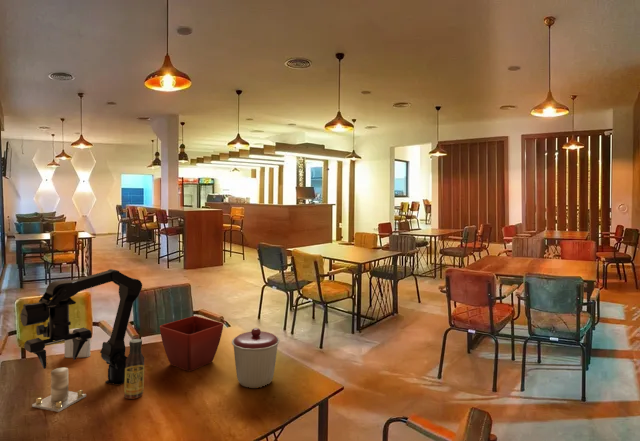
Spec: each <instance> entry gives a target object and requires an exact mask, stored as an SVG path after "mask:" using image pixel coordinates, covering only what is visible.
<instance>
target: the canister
mask: <svg viewBox="0 0 640 441" xmlns="http://www.w3.org/2000/svg"><path fill="white" fill-rule="evenodd" d="M280 341H281V340H280V337H278V336H277V335H275V334H274V333H271V332H267V331H261V329H260V328H258V327H255V328H253V329H251V331H247V332H243V333H240V334H239V335H237V336H235V337H233V339H232V340H231V345H232V346H233V352H234V353H233V354H234V363H235V371H236V373H235V374H236V377H237V378H236V379H237V381H238V383H239V384H240V385H241V386H242V387H245V388H248V387H249V389H258V388H257V387H260V388H263V387H262V386H264V387H265V385H266V386H268V385H269V384H270V383H272V381H273V378H274V373H275V367H276V360H277V354H278V345H279V343H280ZM267 384H268V385H267Z"/></svg>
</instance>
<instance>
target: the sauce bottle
mask: <svg viewBox="0 0 640 441" xmlns="http://www.w3.org/2000/svg"><path fill="white" fill-rule="evenodd" d="M142 344H143V340H142V339H141V338H133V339H131V340H129V354H128V355H127V356H126V357H127V359H126V367H125V382H124V386H123V387H124V388H123V390H124V391H123V392H124V398H125V399H127V400H134V399H135V400H136V399H138V398H141V397H142V396H143V394H144V386H145V385H144V383H145V356H144V355H143V353H142Z"/></svg>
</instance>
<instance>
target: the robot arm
mask: <svg viewBox="0 0 640 441" xmlns="http://www.w3.org/2000/svg"><path fill="white" fill-rule="evenodd" d="M111 282H112V283H114V284H115V285H117V286H118V295H119V296H118V297H119V303H118V306H117V311H116V315H115V318H114V322H113V327H112V330H111V333H110V334H111V335H110V338H109V339H108V340H107V342H106V341H103V342H102V346H101V350H100V351H99V353H100V354H101V355H100V357H101V359H102V360H103V361H105V363H106V364H107V365H108V368H107V380H105V384H110V385H111V384H112V385H117V386H119V385H122V384H125V367H126V359H127V357H128V356H126V343H125V337H126V333H127V331H128V330H127V329H128V326H129V321H130V317H131V314H132V310H133V306H134V303H135V301H136V300H137V299H138V297H139V296H140V294H141V291H142V289H143V283H142V281H141V280H140V279H137V278H133V277H130V276H128V275H126V274H123V273H122V272H120V271H119V270H116V269H112V268H110V269H108V270H106V271H101V272H97V273H93V274H91V275H87V276H84V277H83V276H82V277H80V278H76V279H64V280H54V281H52V282H50V283H48V285H47V286H46V289H45V290H46V291H45V292H44V293H43V295H42V296H41V297H40V298H39V300H38V302H33V303H24V304H23V305H22V309H21V312H20V322H21V325H22V326H23V327H26V326H27V327H28V326H33V325H36V324H40V325H36V327H35V328H36V336H43V338H45V339H42V338H40V337H35V338H31V339H28V340H26V341H25V342H24V344H23V345H24V346H23V347H24V350H25V351H27V352H29V353H31V354H32V353H33V354H34V355H36V356H37V357H38V360H39V362H40V364H41V366H42V369H44V370H47V350H46V349H45V348H46V346H49V345H53V344H57V343H62V342H65V341H66V340H70V339H72V340H73V357H72V360H73V361H76V360H77V358H78V357H77V356H78V354H79V352H80V350H81V348H82V346H83V345H84V343H85V342H86V341H88V339H89V338H92V337H93V335H92V334H93V333H92V331H91V330H90V329H89V328H87V327H81V328H79V327H78V328H79V329H75V328H74V329H75V330H73V333H71V334H70V333H69V330H70V326H72V325H71V323H72V322H71V321H70V305H75V304H76V303H77V302H76V301H75V300H73V299H72V298H71V297H74V296H76V295H77V294H79V293H80V292H81V291H84V290H87V289H92V288H94V287H95V288H96V287H97V286H101V285H104V284H107V283H111ZM46 321H47V324H46V325H47V326H45V324H42V323H46ZM46 338H47V339H46Z"/></svg>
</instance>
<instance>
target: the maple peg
mask: <svg viewBox="0 0 640 441" xmlns="http://www.w3.org/2000/svg"><path fill="white" fill-rule="evenodd" d="M68 391H69V368H68V367H57V368H55V369H52V370H51V371H50V395H51V402H53V403H56V402H58V401H62V402H63V401H65V400H67V399H68Z"/></svg>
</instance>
